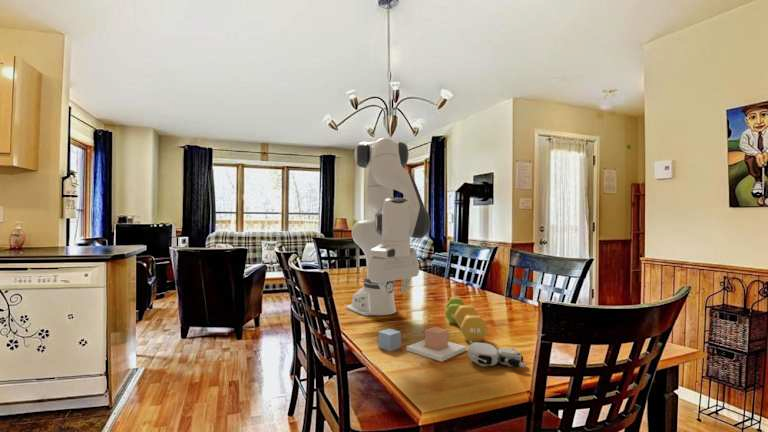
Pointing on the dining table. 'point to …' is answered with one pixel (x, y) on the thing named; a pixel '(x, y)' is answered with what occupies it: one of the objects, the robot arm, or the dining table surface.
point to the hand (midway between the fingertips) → (395, 293)
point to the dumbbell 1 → (453, 308)
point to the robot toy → (494, 355)
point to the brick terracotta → (436, 338)
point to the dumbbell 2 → (470, 323)
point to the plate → (436, 354)
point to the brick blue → (389, 339)
